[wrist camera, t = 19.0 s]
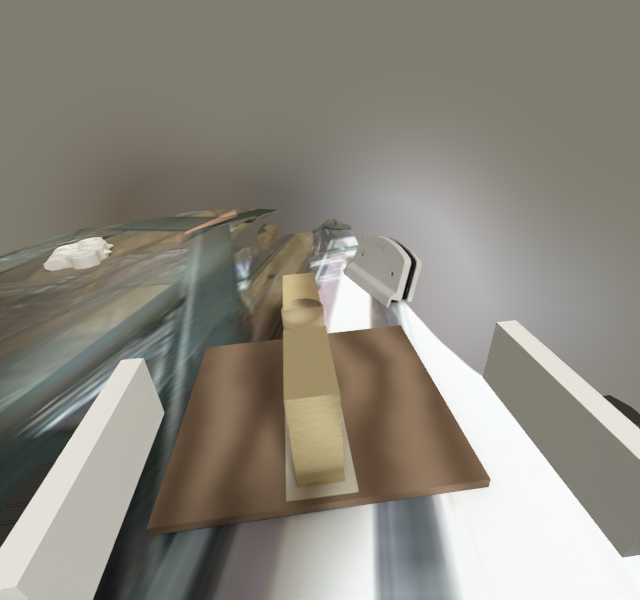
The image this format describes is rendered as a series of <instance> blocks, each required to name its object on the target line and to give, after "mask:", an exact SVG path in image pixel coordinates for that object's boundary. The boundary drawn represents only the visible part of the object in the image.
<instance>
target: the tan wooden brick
mask: <svg viewBox="0 0 640 600" xmlns="http://www.w3.org/2000/svg"><path fill="white" fill-rule="evenodd" d="M283 383H284V406H285V412H286V418H287V424H288V430H289V436H290V443H291V449H292V455H293V461H294V467H295V473H296V479H297V485H298V488H301V487H308V486H316V485H323V484H330V483H337V482H344V481H345V474H344V455H343V436H342V418H341V399H340V390H339V386H338V381H337V376H336V372H335V367H334V363H333V358H332V353H331V349H330V344H329V340H328V335H327V330H326V326H317V327H308V328H299V329H290V330H283Z"/></svg>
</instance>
